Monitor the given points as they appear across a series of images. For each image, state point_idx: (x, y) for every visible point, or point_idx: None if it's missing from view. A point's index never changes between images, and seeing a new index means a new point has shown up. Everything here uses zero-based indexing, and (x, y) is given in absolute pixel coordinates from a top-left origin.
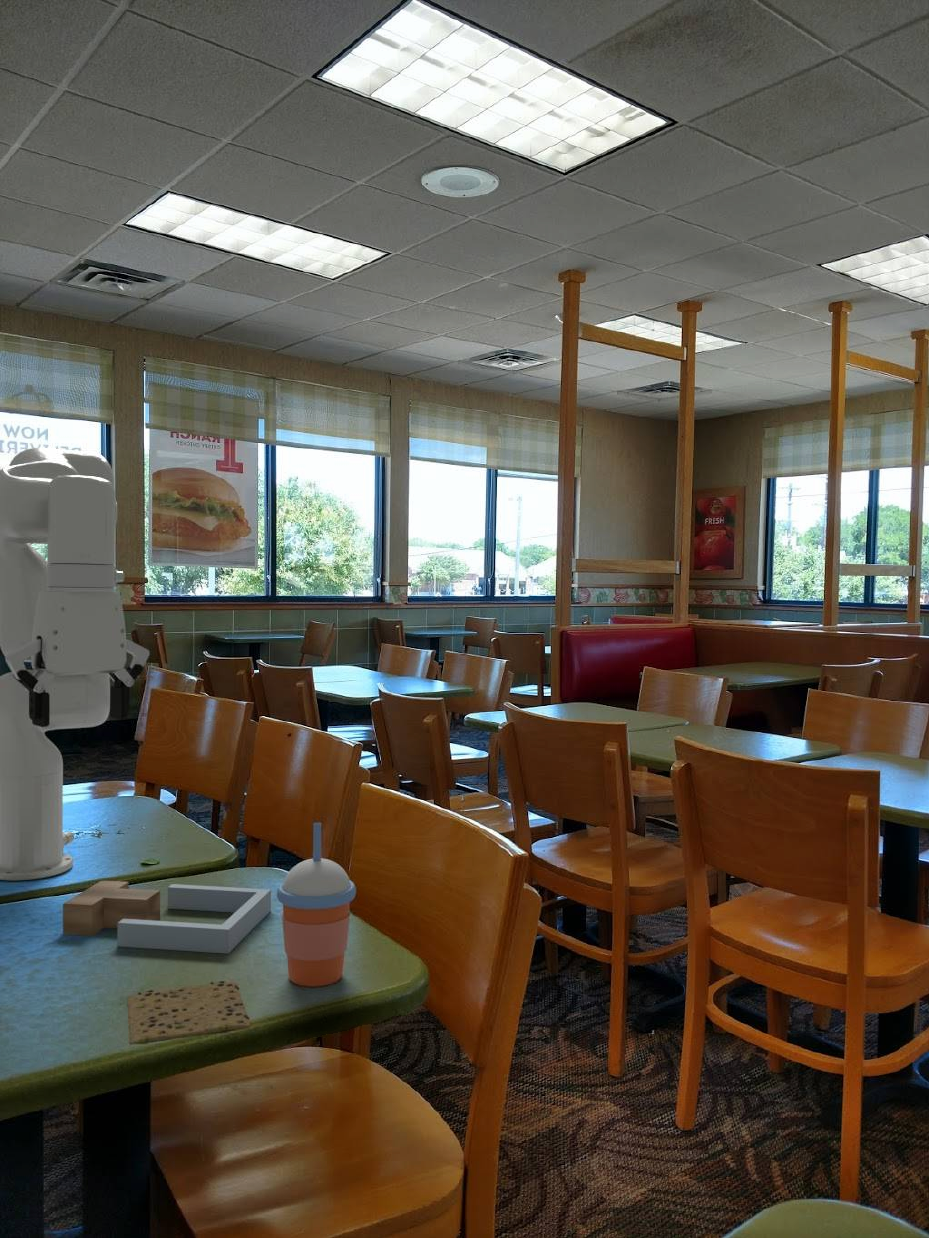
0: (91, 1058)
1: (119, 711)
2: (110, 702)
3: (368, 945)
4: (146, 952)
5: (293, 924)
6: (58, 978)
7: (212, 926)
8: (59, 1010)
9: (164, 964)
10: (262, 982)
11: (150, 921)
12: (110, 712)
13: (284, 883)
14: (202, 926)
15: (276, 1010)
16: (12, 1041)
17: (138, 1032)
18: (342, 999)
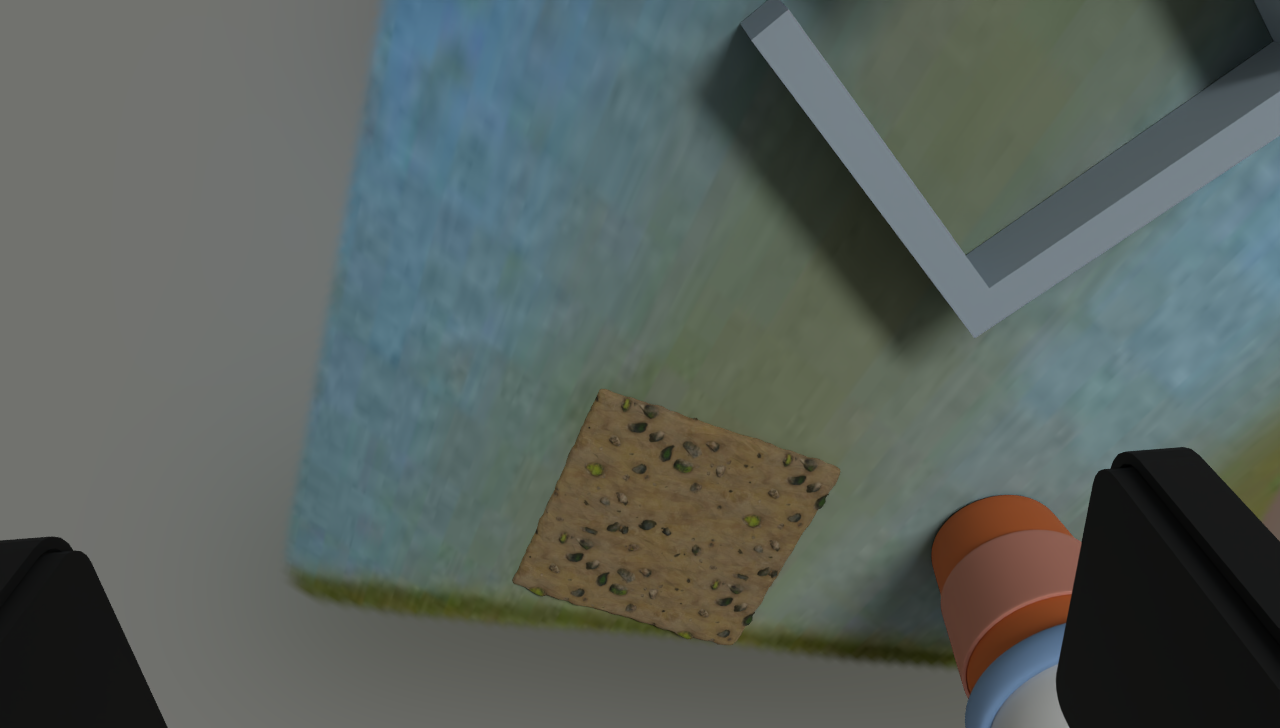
0: (430, 589)
1: (1099, 726)
2: (1204, 612)
3: (1236, 474)
4: (784, 138)
5: (961, 679)
6: (492, 166)
7: (959, 283)
8: (436, 363)
9: (774, 260)
10: (887, 501)
11: (844, 107)
12: (1120, 508)
13: (1016, 715)
14: (937, 265)
15: (815, 620)
16: (307, 445)
17: (541, 562)
18: (945, 651)
